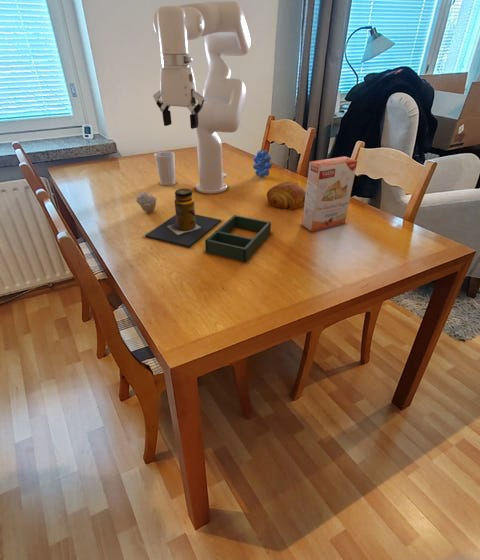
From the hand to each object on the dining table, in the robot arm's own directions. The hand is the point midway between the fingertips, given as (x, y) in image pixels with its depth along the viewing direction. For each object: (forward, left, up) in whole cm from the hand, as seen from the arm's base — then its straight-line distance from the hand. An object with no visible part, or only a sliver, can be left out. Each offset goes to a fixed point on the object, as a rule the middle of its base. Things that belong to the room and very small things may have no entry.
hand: (181, 126), depth 109 cm
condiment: (+12, +6, -28) cm, 31 cm away
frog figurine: (+6, -13, -28) cm, 32 cm away
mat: (+12, +6, -28) cm, 31 cm away
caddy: (+13, +26, -28) cm, 41 cm away
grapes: (-46, +10, -28) cm, 55 cm away
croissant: (-23, +29, -28) cm, 47 cm away
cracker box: (-10, +46, -28) cm, 55 cm away
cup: (-22, -24, -28) cm, 43 cm away
